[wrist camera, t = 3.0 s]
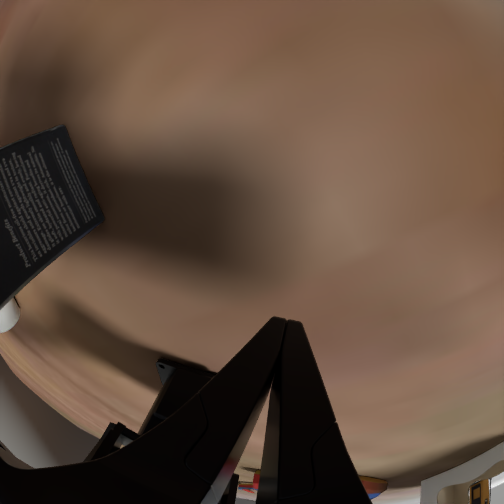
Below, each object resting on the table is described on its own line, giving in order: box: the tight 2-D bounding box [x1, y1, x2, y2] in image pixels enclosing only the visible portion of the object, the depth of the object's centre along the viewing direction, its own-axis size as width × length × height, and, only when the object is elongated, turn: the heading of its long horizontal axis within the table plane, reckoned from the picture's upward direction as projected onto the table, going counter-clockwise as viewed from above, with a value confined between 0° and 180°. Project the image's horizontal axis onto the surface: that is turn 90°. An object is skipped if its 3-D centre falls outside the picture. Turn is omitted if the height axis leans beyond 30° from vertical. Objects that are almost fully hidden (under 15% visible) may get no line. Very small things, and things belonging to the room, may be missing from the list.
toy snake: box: [238, 470, 388, 500], centre depth 34 cm, size 31×22×5 cm
